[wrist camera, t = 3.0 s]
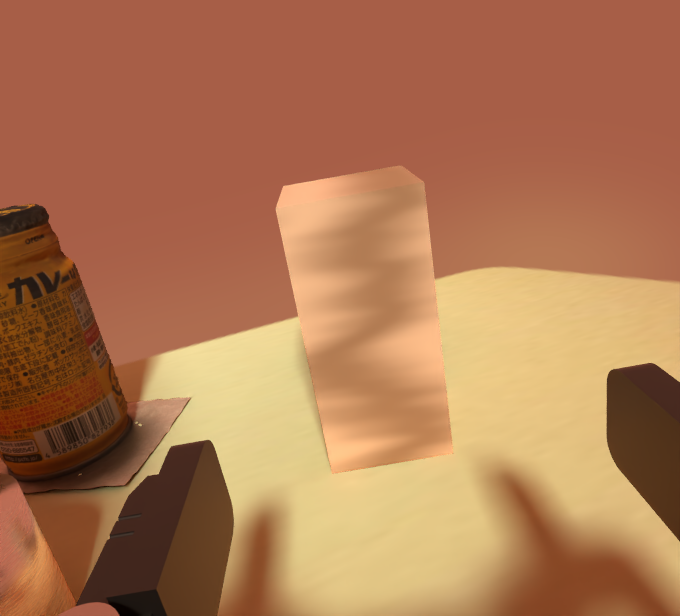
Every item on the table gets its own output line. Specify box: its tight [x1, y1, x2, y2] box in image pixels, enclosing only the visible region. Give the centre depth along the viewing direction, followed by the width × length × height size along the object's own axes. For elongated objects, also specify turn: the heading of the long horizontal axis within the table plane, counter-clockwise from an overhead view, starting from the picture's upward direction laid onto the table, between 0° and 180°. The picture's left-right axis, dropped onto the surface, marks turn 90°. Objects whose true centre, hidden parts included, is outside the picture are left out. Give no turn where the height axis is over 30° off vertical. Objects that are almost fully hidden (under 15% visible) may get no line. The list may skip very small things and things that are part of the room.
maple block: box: [276, 166, 453, 474], centre depth 22 cm, size 5×5×11 cm
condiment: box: [0, 204, 190, 493], centre depth 25 cm, size 7×8×12 cm
